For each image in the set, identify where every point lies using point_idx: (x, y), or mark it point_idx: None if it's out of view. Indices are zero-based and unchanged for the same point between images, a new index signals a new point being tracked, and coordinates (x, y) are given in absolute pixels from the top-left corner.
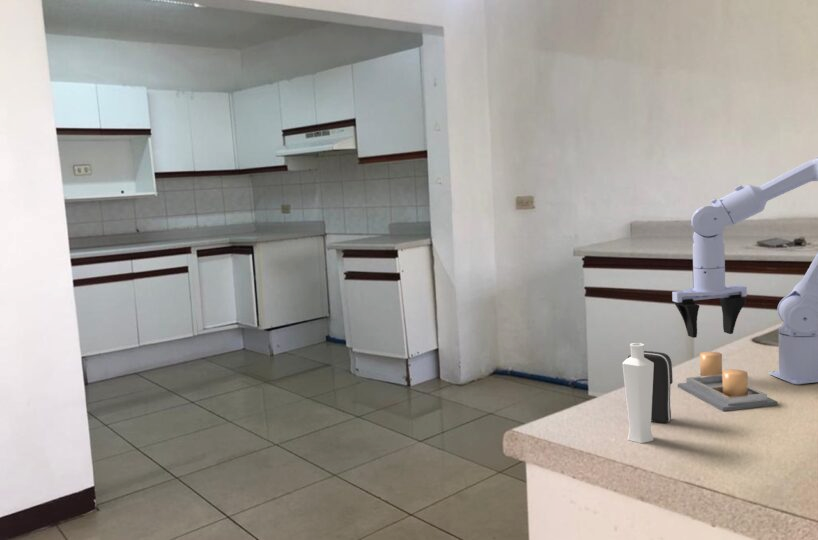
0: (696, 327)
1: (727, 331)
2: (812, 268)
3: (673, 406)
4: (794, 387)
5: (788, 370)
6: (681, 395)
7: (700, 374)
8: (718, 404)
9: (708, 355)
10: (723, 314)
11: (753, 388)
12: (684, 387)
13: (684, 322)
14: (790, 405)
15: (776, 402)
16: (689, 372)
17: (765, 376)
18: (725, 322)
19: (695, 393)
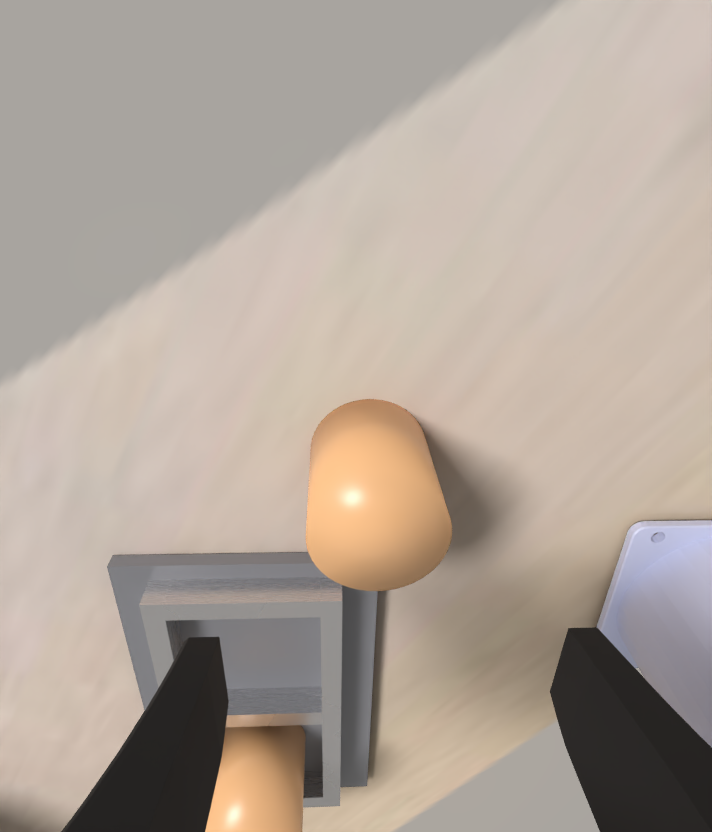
0: (200, 825)
1: (563, 683)
2: None
3: (16, 725)
4: None
5: (635, 659)
6: (88, 646)
7: (314, 435)
8: None
9: (344, 559)
10: (687, 808)
11: (338, 761)
12: (120, 613)
13: (106, 772)
14: (400, 779)
15: (363, 782)
16: (290, 350)
17: (596, 534)
18: (614, 741)
19: (137, 677)
